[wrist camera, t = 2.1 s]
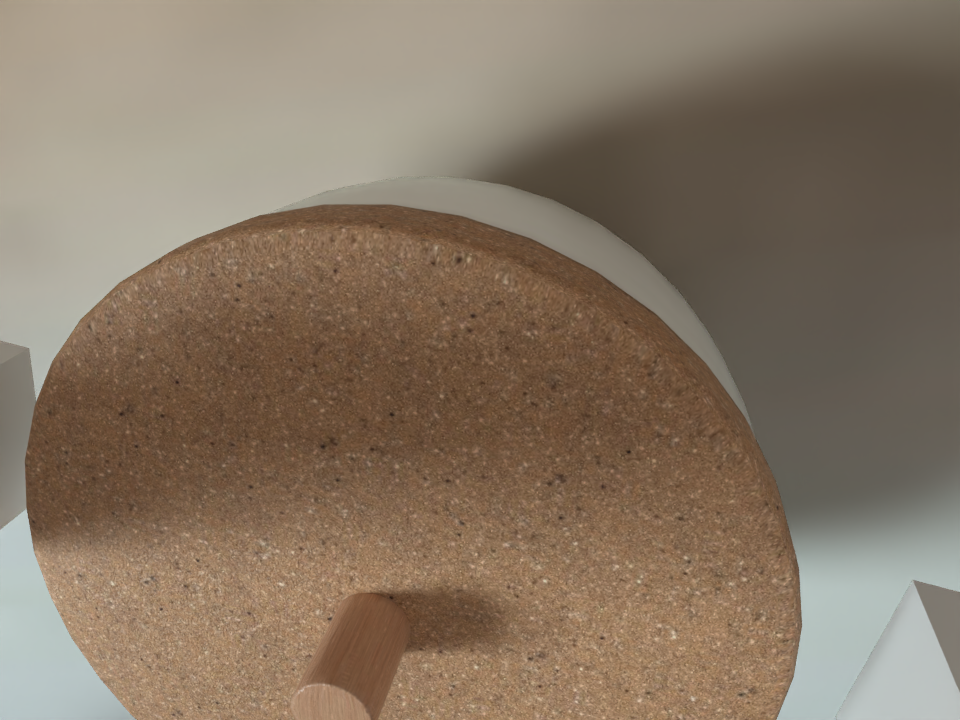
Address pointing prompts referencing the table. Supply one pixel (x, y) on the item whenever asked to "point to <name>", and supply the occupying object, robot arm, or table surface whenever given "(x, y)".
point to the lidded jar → (411, 476)
